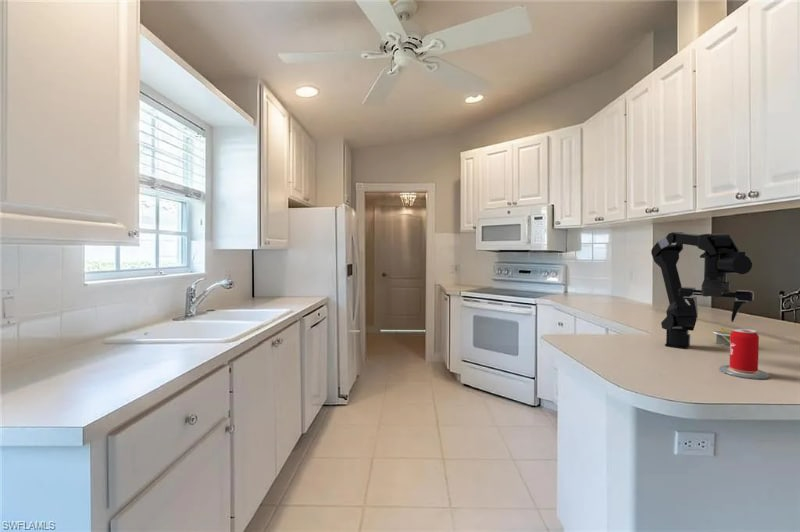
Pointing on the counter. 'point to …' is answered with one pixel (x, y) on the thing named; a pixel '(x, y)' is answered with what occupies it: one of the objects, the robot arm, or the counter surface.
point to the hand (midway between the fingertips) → (713, 319)
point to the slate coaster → (755, 375)
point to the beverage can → (744, 350)
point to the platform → (723, 337)
